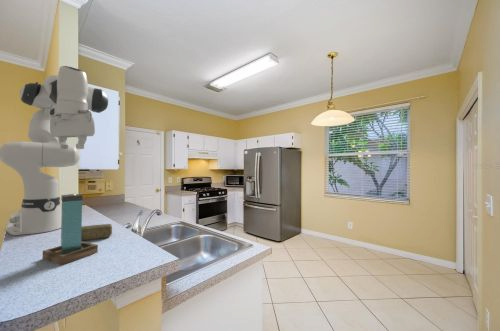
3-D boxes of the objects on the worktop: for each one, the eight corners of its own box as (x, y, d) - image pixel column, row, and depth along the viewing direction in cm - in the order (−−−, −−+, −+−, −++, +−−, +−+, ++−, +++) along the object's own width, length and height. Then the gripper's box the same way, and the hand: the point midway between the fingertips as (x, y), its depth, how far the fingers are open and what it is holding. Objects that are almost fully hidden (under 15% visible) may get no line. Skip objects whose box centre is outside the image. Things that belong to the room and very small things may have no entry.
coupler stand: (42, 259, 65) (42, 250, 65) (78, 247, 74) (78, 240, 74) (62, 265, 61) (62, 256, 61) (97, 252, 71) (97, 244, 71)
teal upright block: (60, 250, 68) (61, 194, 68) (79, 246, 71) (80, 192, 71) (61, 255, 65) (62, 195, 65) (81, 250, 68) (82, 194, 68)
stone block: (110, 238, 85) (110, 225, 85) (74, 242, 80) (74, 229, 80) (112, 234, 90) (112, 222, 90) (78, 238, 85) (78, 225, 85)
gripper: (100, 111, 76) (99, 149, 76) (66, 115, 84) (65, 150, 84) (81, 106, 71) (80, 147, 71) (46, 111, 78) (45, 148, 78)
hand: (71, 149), depth 77 cm, fingers open, 8 cm apart
